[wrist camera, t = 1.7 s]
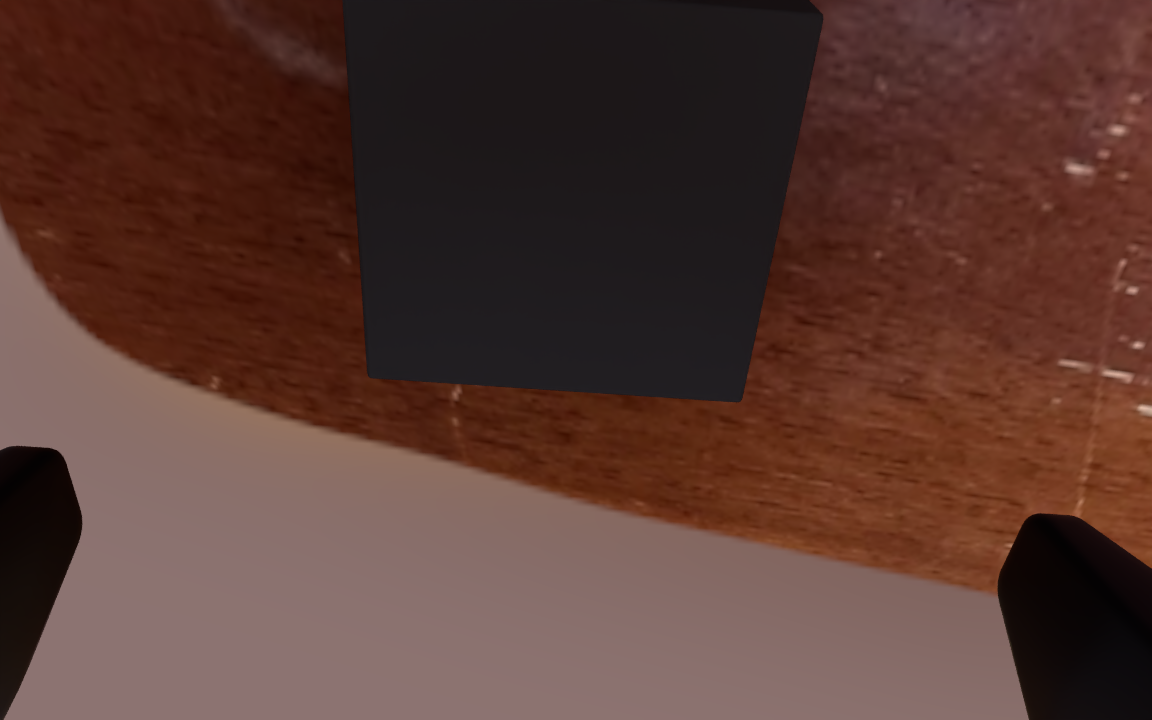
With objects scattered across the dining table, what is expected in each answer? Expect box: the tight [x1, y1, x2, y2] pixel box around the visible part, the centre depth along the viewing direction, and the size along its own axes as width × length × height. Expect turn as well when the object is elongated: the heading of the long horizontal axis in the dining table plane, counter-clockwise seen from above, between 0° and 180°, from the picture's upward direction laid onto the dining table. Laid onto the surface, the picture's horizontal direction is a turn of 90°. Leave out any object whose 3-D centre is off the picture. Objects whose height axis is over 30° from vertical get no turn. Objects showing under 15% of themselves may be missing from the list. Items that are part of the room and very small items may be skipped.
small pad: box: [343, 0, 823, 402], centre depth 15 cm, size 7×7×3 cm
